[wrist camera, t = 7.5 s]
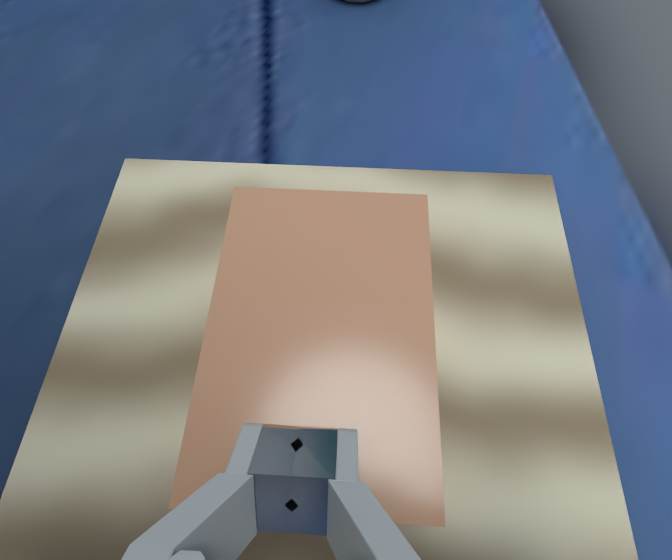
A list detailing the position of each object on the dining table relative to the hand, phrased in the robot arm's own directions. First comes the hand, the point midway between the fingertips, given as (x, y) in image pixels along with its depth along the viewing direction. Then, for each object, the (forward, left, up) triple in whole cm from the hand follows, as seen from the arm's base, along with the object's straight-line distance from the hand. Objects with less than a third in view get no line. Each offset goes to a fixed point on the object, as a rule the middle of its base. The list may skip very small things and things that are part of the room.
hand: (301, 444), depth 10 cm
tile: (+2, -2, -4) cm, 5 cm away
